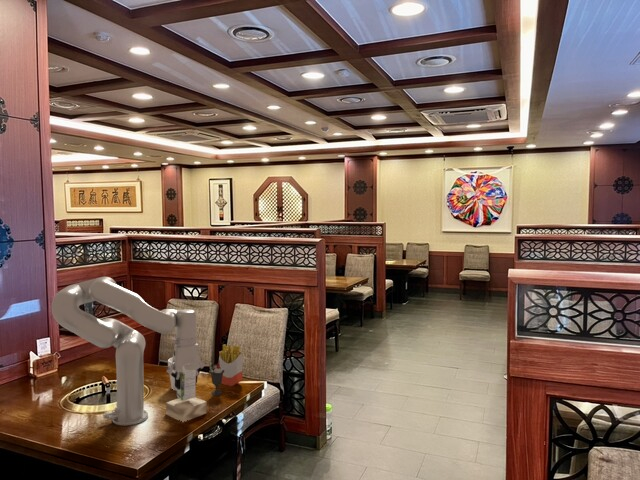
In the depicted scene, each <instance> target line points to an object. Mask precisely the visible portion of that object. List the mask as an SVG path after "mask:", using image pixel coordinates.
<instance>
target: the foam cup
mask: <svg viewBox="0 0 640 480" xmlns="http://www.w3.org/2000/svg"><path fill="white" fill-rule="evenodd" d="M172 361H173V357H170V358H169V359H167V367H168V368H169V367H170V366H171V364H172ZM172 372H173V373H175V370H172ZM169 380H170V387H171V390H172V389H173V390H172V391H177V388H176V387H175V378H174V377H173V376H172V375H170V374H169Z"/></svg>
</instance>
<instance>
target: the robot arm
mask: <svg viewBox="0 0 640 480" xmlns="http://www.w3.org/2000/svg"><path fill="white" fill-rule="evenodd" d="M92 302H97V303H99V304H101V305H104V306H106V307H108V308H110V309H113V310H115V311H117V312H119V313H121V314H123V315H126V316H127V317H128V318H130V319H132V320H133V321H135V322H137V323H138V324H139V325H141V326H144V327H145V328H147V329H150V330H152V331H154V332H157V333H159V334H164V335H165V334H169V333H171V332H172V331H173V330H174V329H176V332H175V333H176V334H175V335H176V337H175V340H173V341H172V344H173V345H174V349H173V354H172V358H173V361H172V364H171V366H170V367H168V368H167V369H166V373H168V374H169V376H170V375H172V376H173V377H174V378H175V387H176V388H177V389H178V390H179V389H180V388H181V380H180V379H179V377H180V375H181V373H182V372H183V366H184V368H185V369H186V370H195V369H196V384H198V376H199V373H200V372H201V371H202V369H203V368H204V367H205V366H206V363H204V361H202V360H201V352H200V346H199V343H197V312H196V310H194V309H172V308H171V309H170V308H164V309H162V310H159V309H157V308H155V307H152V306H151V305H149V304H148V303H147V302H145V300H144V299H143V298H142V297H141V296H140V295H139V294H138V293H136V292H134V291H131V290H129V289H127V288H124V287H122V286H120V285H119V284H117V282H116V281H115V280H114V279H113V277H112V278H111V277H109V276H101V277H97V278H93V279H89V280H84V281H81V282H77V283H74V284H70V285H67V286H65V287H64V288H62V289H61V290H60V291H58V292H56V294H55V295H54V297H53V299H52V302H51V314H52V316H53V319H54V321H56V323H57V324H58V325H60V326H61V327H62V328H65V329H66V330H67V331H69V332H71V333H74V335H77V336H78V337H80V338H81V339H83V340H86V341H87V342H89V343H91V344H92V345H94V346H96V347H98V348H101V349H108V348H110V347H114V348H116V349H115V365H116V366H115V367H116V407H114V410H112V411H111V412H105V413H103V414H102V415H103V416H102V417H103V419H104V420H106V419H108V420H112V423H113V424H115V425H117V426H133V425H137V424H141V423H142V422H144V421H146V420H147V419H148V416H149V413H148V411H147V410H145V409H144V407H145V405H144V404H145V403H144V399H145V398H144V393H145V391H144V388H145V385H144V383H145V382H144V381H145V380H144V377H145V376H144V374H145V373H144V351H145V348H146V339H145V337H144V335H143V334H142V333H141V332H139V331H138V330H135V329H134V328H132V327H131V326H129V325H127V324H125V323H123V322H121V320H118V319H116V318H112V317H106V318H103V319H100V318H98V317H96V316H94V315H93V314H91V313H89V312H86V311H85V310H82V309H81V308H80V306H81V305H84V304H88V303H92ZM191 362H192V363H193V364H192V363H191ZM185 364H186V365H185ZM188 364H190V365H188ZM191 364H192V365H191ZM187 365H188V366H187ZM172 370H175V373H173V372H172Z"/></svg>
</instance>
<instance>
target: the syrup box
mask: <svg viewBox="0 0 640 480" xmlns="http://www.w3.org/2000/svg"><path fill="white" fill-rule="evenodd" d="M191 363H192V362H191ZM192 364H193V363H192ZM192 364H191V365H192ZM185 365H186V364H185ZM188 365H190V364H188ZM188 365H187V366H188ZM179 379H180V380H181V388H180V389H179V390H178V389H177V390H176V397H177V399H178V398H180V399H181V400H182V401H183V400H187V399H191V398H195V397H196V386H197V383H196V369H195V370H186V369H185V368H184V366H183V372H182V373H181V375H180V377H179Z"/></svg>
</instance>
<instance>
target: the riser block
mask: <svg viewBox="0 0 640 480" xmlns="http://www.w3.org/2000/svg"><path fill="white" fill-rule="evenodd" d="M205 414H207V401H205V400H204V399H201V398H199V397H197V396H195V398H191V399H187V400H183V401H182V400H181V399H180V398H178V397H177V398H175V399H173V400H169V401H166V402H165V415H167V416H169V417H171V418H172V419H175V420H177V421H179V420H180V421H179V422H181V421H182V422H181V423H185V422H188V421H190V420H193V419H195V418H198V417H200V416H203V415H205ZM187 420H188V421H187ZM184 421H185V422H184Z"/></svg>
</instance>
